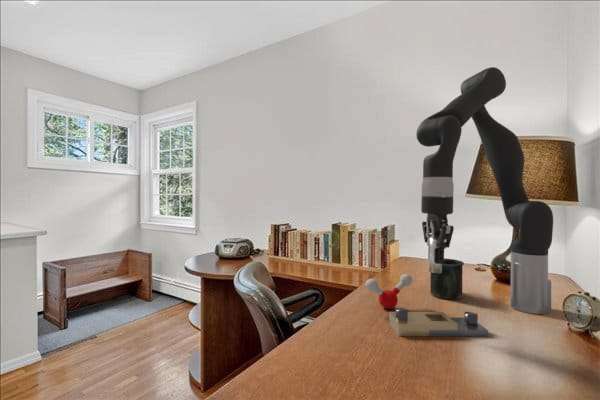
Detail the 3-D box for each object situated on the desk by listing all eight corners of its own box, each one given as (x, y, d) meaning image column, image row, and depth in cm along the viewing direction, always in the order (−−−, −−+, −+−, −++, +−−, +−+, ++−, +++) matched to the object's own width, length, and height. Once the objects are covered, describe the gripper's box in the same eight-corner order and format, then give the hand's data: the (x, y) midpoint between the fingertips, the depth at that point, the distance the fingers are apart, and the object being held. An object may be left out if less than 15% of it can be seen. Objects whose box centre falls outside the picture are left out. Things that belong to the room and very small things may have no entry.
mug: (423, 295, 108) (423, 260, 108) (442, 287, 118) (442, 255, 118) (455, 303, 100) (455, 266, 100) (472, 294, 110) (473, 260, 109)
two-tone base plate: (470, 323, 84) (470, 304, 84) (488, 336, 76) (488, 315, 76) (389, 322, 84) (389, 304, 84) (398, 335, 76) (398, 315, 76)
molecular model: (376, 317, 87) (376, 282, 87) (361, 311, 92) (361, 278, 92) (414, 305, 97) (414, 274, 97) (399, 300, 102) (399, 270, 102)
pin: (425, 270, 82) (426, 232, 82) (439, 270, 82) (440, 232, 82) (431, 273, 78) (432, 234, 78) (445, 273, 78) (446, 234, 78)
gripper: (412, 195, 87) (411, 256, 87) (434, 194, 73) (432, 267, 73) (439, 195, 87) (438, 257, 87) (466, 195, 73) (464, 268, 73)
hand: (435, 261), depth 80 cm, fingers closed on pin, 3 cm apart
